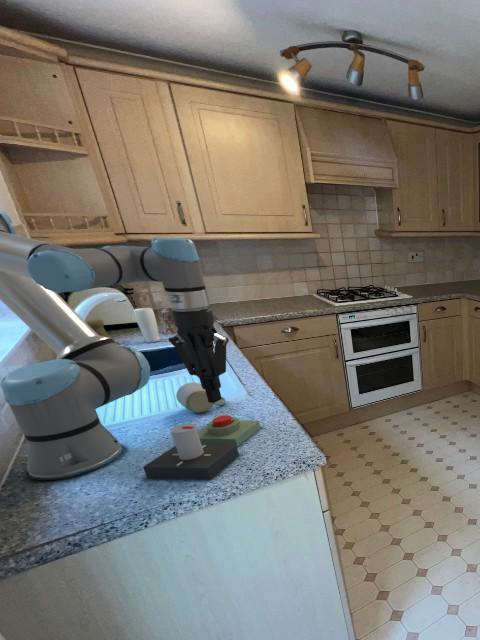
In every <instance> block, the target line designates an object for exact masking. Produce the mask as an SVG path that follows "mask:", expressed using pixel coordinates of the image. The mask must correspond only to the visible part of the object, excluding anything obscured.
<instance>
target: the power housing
mask: <svg viewBox="0 0 480 640" xmlns="http://www.w3.org/2000/svg"><path fill="white" fill-rule="evenodd" d="M231 418H232V424H230V425H227V426H224V427H214V424H213V420H212V421H210V422H209V423H208V424H206V425H205V426H204V427H202V428H201V429H199V430H197V432H198V435H199V439H200V442H201V444H222V445H237V447H239V446H240V445H241V444H242V443H244V442H245V441H246V440H247V439H249V438H250V437H251V436H252V435H254V434H255V433H256V432H257V431H259V430H260V429H261V424H260V421H259V420H240V419H239V418H238V417H236V416H231Z"/></svg>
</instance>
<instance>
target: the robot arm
mask: <svg viewBox="0 0 480 640" xmlns="http://www.w3.org/2000/svg"><path fill="white" fill-rule="evenodd" d="M12 224H13V220H12V218H11V217H10V215H9V214H8V213H7V211H6V210H5V209H3V208H2V207H1V206H0V301H1V302H2V303H3V304H4V305H5V306H6V307H7V308H8V309H9V310H10V311H12V312H13V314H15V315H16V317H18V318H19V319H20V320H21V321H22V322H23V323H24V324H25V325H26V326H27V327H28V329H30V330H31V331H32V332H33V333H35V334H36V336H37V337H38V338H40V340H41V341H43V342H44V343H45V344H46V345H47V346H48V347H49V348H50V349H51V350H52V351H53V352H54V353H55V354H56V358H55V359H49V360H44V361H40V362H35V363H34V362H33V363H31V364H28V365H23V366H22V367H19V368H17V369H15V370H12V371H11V372H8V373H7V374H6V375H5V376H4V377H3V378H2V379H1V383H0V387H1V389H2V392H3V395H4V396H3V397H4V401H5V402H6V404H8V406H9V407H10V410H11V411H12V414H13V415H14V418H15V419H16V421H17V424H18V425H19V428H20V429H21V432H22V433H23V436H24V438H25V440H26V441H27V462H26V469H27V473H28V475H29V476H30V478H31V479H33V480H37V481H55V480H63V479H69V478H72V477H76V476H80V475H83V474H86V473H89V472H92V471H94V470H98V469H100V468H102V467H104V466H106V465H108V464H110V463H112V462H113V461H115V460H116V459H117V458H119V457H120V456H121V455H122V453H123V446H122V444H121V443H120V441H119V440H118V439H117V438H116V437H115V436H114V435H113V433H111V432H110V431H109V429H107V428H106V427H105V426H104V425H103V424H102V422H101V420H100V418H99V415H98V413H97V409H99V408H101V407H103V406H105V405H108V404H110V403H112V402H114V401H117V400H119V399H122V398H124V397H127V396H131V395H133V394H134V393H135V392H137V391H139V390H141V389H142V388H144V387H146V385H147V384H148V382H149V381H150V379H151V374H150V373H151V366H150V364H149V361H148V360H147V358H146V357H145V355H144V354H143V353H142V352H141V351H139V350H138V349H136V348H134V347H131V346H128V345H127V346H126V345H119V344H118V343H117V342H116V341H115V340H114V339H113V338H112V337H110V336H109V337H104V336H99V335H98V334H97V333H96V332H95V331H94V330H93V329H92V328H91V327H90V326H89V325H88V324H87V321H85V320H84V319H83V318H82V316H80V315H79V314H78V313H77V312H76V311H75V310H74V308H72V307H71V306H70V305H69V304H68V302H66V300H64V298H63V297H62V296H60V294H59V293H69V292H70V293H77V292H82V291H86V290H91V289H99V288H104V287H110V286H117V285H122V284H123V285H124V284H129V283H138V282H160V283H162V286H163V289H164V292H165V296H166V299H167V302H168V307H169V308H172V312H171V315H172V318H173V321H174V325H175V326H176V327H178V330H177V333H176V334H174V336H171V337H169V338H168V342H169V343H170V344H171V345H172V346H173V347H174V348H175V350H176V352H177V354H178V355H179V357H180V360H181V362H182V363H183V365H184V366H185V368H186V370H187V373H188V374H189V375H190V376H196V378H198V379H199V381H200V384H201V386H202V388H203V389H205V391H206V395H207V398H208V402H209V403H215V402H217V401H219V400H220V399H222V397H223V396H222V394H221V390H220V389H221V388H222V383H221V380H220V376H221V375H224V374H225V373H226V372H227V345H228V343H229V341H230V339H229V337H228V336H222V335H220V334H218V331H217V329H216V327H215V326H214V323H215V320H214V315H213V311H212V308H210V307H209V306H211V302H210V298H209V294H208V291H207V288H206V284H205V280H204V277H203V276H204V275H203V271H202V267H201V261H200V260H201V259H200V256H199V255H198V252H197V249H196V245H195V242H193V240H191V239H189V238H186V237H154V238H152V239H151V241H150V243H151V246H136V245H135V246H134V245H125V244H117V245H116V244H115V245H113V244H112V245H106V246H105V245H104V246H102V247H91V248H71V247H66V246H63V245H59V244H54V243H50V242H46V241H42V240H38V239H35V238H30V237H27V236H22V235H18V234H16V228H15V226H14V225H12Z"/></svg>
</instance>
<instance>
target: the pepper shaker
mask: <svg viewBox="0 0 480 640" xmlns="http://www.w3.org/2000/svg"><path fill="white" fill-rule="evenodd" d="M86 323H87V324H88V325H89V326H90V327H91V328H92V329H93V330H94V331H95V332H96V333H97V334H98V335H99V336H104V337H110V336H109V334H108V333H107V331H106V329H105V328H104V325H105V323H104V321H103V320H102V319H99V318H96V319H95V318H94V319H90V320H87V321H86Z"/></svg>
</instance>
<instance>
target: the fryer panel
mask: <svg viewBox="0 0 480 640" xmlns="http://www.w3.org/2000/svg"><path fill="white" fill-rule="evenodd" d="M201 445H202V448H203V451H204V453H203V454H202V455H201V456H199V457H197V458H194V459H191V460H181V459H180V457H179V454H178V451H177V448H176V446H175V445H174V446H172V447H171V448H170V449H168V450H167V451H165V452H164V453H162V454H161V455H159V456H157V457H156V458H154V459H153V460H152V461H150V462H148V463H147V464H145V465H144V466H143V468H142V469H143V471H144V473H145V476H146V479H160V480H161V479H164V480H165V479H167V480H168V479H169V480H212V479H213V478H214V477H215V476H216V475H218V474H219V473H220V472H221V471H222V470H224V469H225V468H227V466H228V465H229V464H231V463H232V462H233V461H234V460H235V459H237V458H238V457H239V456H240V453H239V450H238V446H237V445H222V444H201Z"/></svg>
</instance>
